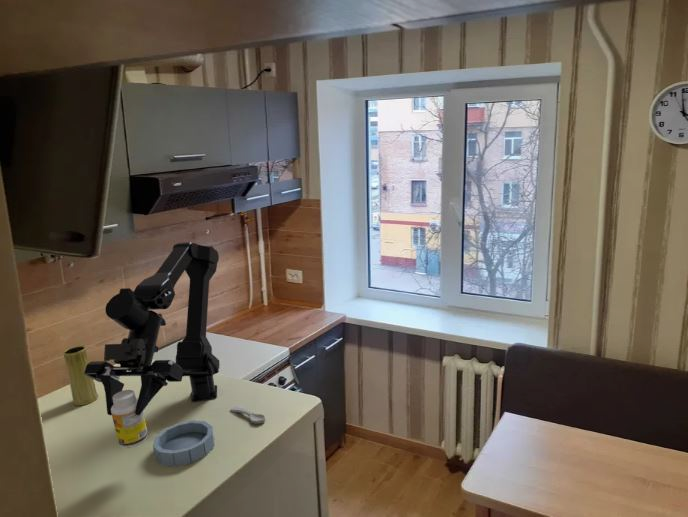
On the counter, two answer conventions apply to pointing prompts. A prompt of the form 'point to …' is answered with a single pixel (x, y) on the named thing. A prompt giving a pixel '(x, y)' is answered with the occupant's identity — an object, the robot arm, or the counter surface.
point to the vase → (79, 376)
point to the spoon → (250, 415)
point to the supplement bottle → (128, 420)
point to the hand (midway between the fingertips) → (123, 414)
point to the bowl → (183, 443)
